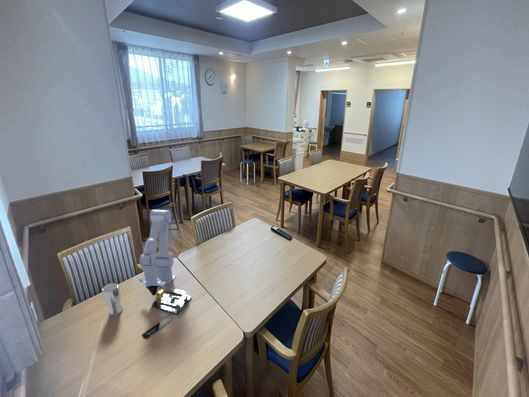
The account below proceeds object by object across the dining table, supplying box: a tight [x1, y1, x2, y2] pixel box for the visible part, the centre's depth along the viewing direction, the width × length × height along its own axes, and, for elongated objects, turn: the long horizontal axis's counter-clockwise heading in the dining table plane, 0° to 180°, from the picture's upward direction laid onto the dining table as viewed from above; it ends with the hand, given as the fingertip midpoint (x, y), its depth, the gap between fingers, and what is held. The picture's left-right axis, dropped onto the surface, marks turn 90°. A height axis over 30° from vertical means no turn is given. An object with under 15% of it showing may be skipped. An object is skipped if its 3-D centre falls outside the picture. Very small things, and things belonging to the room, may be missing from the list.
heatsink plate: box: [151, 287, 192, 316], centre depth 133 cm, size 16×12×4 cm
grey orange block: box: [155, 289, 175, 303], centre depth 133 cm, size 8×4×4 cm, turn 73°
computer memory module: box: [141, 314, 174, 340], centre depth 119 cm, size 15×1×4 cm
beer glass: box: [101, 282, 124, 316], centre depth 125 cm, size 7×7×15 cm
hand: (154, 294), depth 135 cm, fingers closed
